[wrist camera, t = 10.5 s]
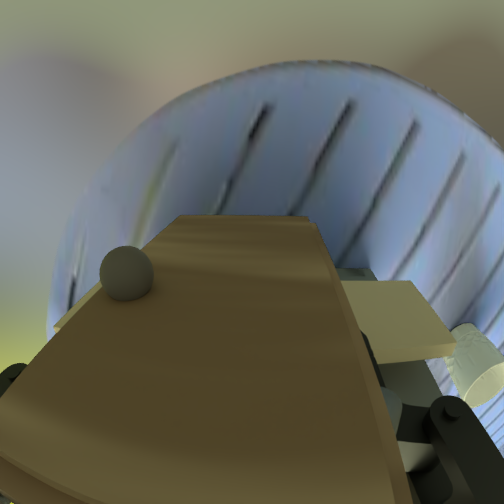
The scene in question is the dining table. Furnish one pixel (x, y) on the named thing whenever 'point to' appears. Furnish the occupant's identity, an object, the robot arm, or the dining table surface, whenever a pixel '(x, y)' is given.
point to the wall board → (384, 331)
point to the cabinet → (206, 380)
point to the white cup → (475, 365)
